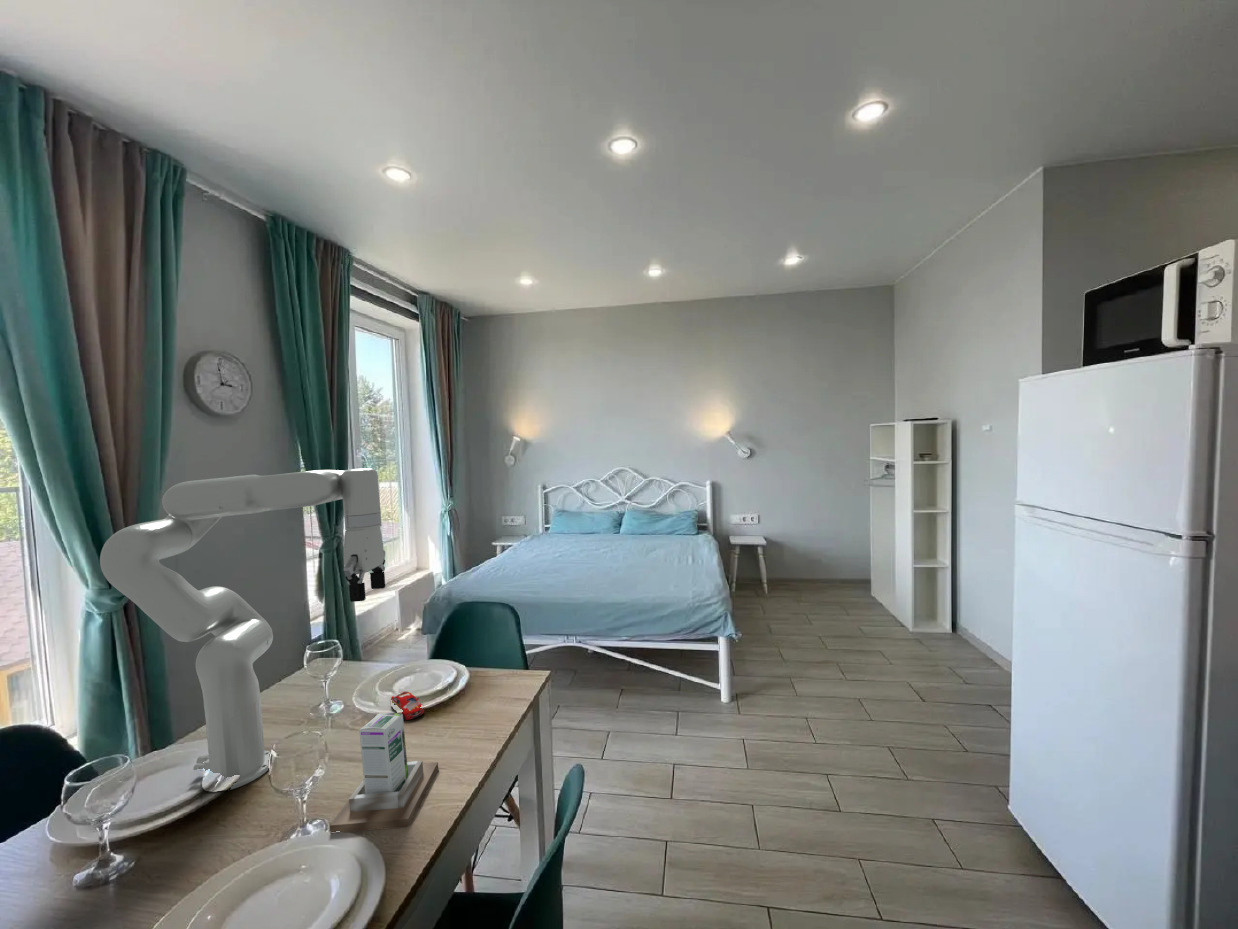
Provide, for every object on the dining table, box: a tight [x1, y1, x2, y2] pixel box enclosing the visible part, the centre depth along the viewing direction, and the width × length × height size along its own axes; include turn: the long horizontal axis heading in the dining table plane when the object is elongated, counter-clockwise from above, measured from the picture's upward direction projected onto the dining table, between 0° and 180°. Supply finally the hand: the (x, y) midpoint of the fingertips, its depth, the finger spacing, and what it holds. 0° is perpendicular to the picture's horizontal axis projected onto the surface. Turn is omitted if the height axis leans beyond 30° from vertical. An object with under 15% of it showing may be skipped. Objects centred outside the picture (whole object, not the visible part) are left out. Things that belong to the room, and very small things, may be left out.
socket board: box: [329, 760, 439, 833], centre depth 96 cm, size 14×16×4 cm
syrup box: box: [358, 712, 408, 794], centre depth 95 cm, size 6×6×14 cm
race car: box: [390, 691, 425, 721], centre depth 129 cm, size 13×5×4 cm, turn 43°
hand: (368, 594), depth 112 cm, fingers open, 9 cm apart
